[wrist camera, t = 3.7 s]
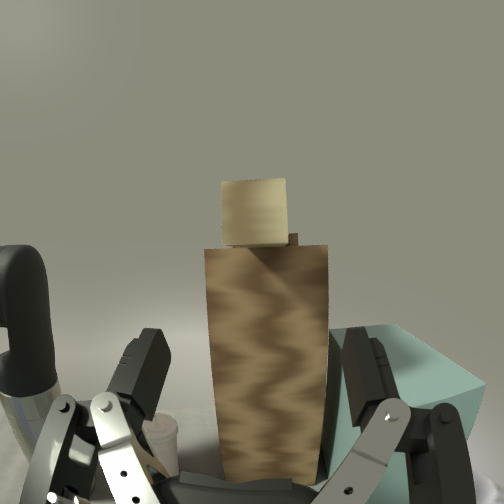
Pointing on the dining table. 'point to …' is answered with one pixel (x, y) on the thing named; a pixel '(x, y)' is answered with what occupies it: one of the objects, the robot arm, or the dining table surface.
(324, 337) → the tall wooden block
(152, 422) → the smoothie
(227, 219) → the pale wooden beam
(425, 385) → the pale teal block
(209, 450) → the dining table surface
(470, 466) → the robot arm
